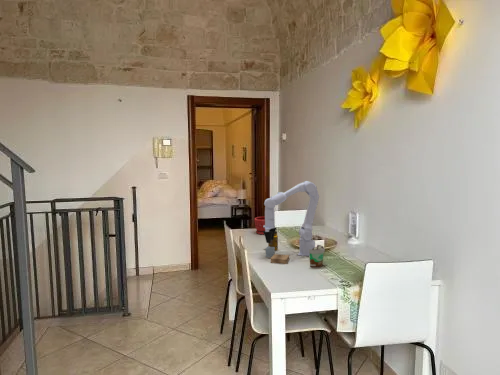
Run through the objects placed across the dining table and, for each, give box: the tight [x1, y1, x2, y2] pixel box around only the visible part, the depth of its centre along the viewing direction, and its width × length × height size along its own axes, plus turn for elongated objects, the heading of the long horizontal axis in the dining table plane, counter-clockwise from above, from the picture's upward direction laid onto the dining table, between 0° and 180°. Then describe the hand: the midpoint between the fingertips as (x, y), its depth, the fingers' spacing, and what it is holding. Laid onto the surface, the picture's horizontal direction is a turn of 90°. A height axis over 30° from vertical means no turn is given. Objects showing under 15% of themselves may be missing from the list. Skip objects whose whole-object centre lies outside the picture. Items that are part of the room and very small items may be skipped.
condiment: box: [263, 230, 281, 252], centre depth 231 cm, size 7×8×12 cm
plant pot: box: [254, 216, 265, 235], centre depth 278 cm, size 13×13×12 cm
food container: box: [309, 244, 326, 268], centre depth 198 cm, size 12×6×10 cm, turn 148°
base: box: [270, 253, 290, 265], centre depth 208 cm, size 9×9×2 cm
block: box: [265, 246, 276, 258], centre depth 219 cm, size 4×4×5 cm
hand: (269, 241), depth 218 cm, fingers open, 7 cm apart
